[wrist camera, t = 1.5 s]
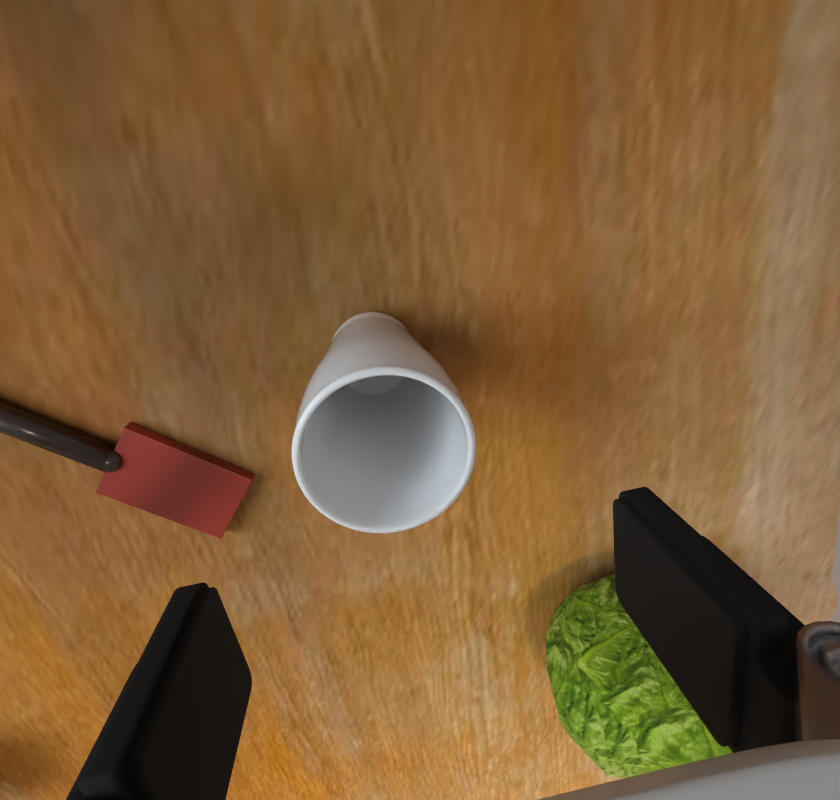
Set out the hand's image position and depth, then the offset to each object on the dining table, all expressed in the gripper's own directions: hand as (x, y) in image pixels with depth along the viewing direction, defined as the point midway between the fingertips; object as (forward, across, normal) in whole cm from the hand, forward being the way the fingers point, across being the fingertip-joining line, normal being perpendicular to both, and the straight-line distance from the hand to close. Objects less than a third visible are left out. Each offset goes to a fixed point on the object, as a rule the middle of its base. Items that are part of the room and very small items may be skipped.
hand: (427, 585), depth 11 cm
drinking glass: (+22, +1, 0) cm, 22 cm away
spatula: (+21, +19, +2) cm, 29 cm away
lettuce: (+22, -15, +31) cm, 41 cm away
